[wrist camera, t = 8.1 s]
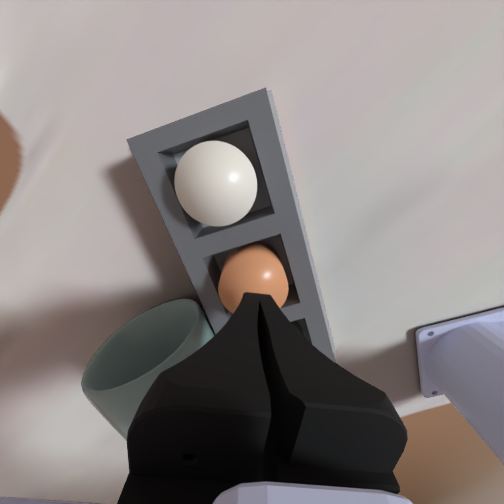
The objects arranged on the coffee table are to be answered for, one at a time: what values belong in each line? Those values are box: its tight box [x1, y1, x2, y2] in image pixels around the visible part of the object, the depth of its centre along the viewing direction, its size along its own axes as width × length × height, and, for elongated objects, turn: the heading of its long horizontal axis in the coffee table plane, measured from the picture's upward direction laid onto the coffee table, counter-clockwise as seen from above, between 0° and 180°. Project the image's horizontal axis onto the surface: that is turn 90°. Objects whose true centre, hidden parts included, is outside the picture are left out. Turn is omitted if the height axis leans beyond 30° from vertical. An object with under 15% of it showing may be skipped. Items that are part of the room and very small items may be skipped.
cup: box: [81, 299, 216, 441], centre depth 17 cm, size 8×8×10 cm
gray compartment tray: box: [127, 88, 336, 362], centre depth 16 cm, size 8×20×3 cm, turn 18°
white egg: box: [174, 141, 257, 226], centre depth 13 cm, size 4×4×3 cm
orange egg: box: [218, 241, 289, 313], centre depth 15 cm, size 4×4×3 cm
